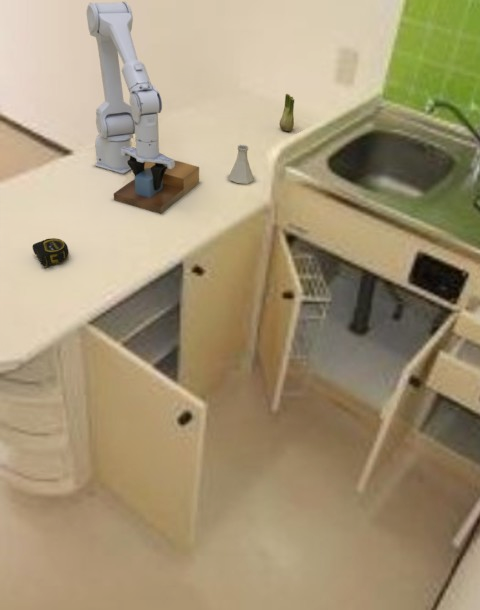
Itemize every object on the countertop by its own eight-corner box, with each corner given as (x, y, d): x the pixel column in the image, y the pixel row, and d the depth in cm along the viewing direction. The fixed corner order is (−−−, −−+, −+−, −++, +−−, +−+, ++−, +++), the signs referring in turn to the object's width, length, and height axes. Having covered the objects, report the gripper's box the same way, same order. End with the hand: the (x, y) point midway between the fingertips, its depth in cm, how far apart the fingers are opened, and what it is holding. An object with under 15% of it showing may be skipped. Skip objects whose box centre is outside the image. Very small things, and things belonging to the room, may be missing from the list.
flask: (249, 186, 185) (251, 154, 179) (225, 181, 186) (226, 149, 180) (256, 176, 191) (258, 144, 185) (233, 171, 192) (234, 139, 186)
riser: (113, 200, 169) (112, 182, 167) (155, 170, 186) (155, 154, 183) (161, 213, 167) (160, 196, 164) (199, 182, 183) (199, 166, 180)
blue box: (135, 193, 170) (134, 176, 167) (148, 184, 175) (147, 167, 172) (150, 198, 169) (149, 180, 166) (162, 188, 174) (162, 171, 171)
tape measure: (33, 254, 145) (30, 240, 143) (63, 248, 149) (61, 234, 147) (41, 270, 141) (39, 256, 139) (73, 263, 145) (71, 249, 142)
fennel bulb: (292, 133, 220) (296, 99, 213) (278, 131, 220) (281, 97, 213) (293, 127, 225) (297, 93, 218) (279, 125, 225) (282, 91, 217)
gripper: (113, 136, 161) (116, 185, 169) (164, 150, 158) (165, 199, 166) (128, 127, 166) (131, 175, 175) (178, 140, 164) (179, 188, 172)
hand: (148, 186), depth 171 cm, fingers closed on blue box, 4 cm apart
